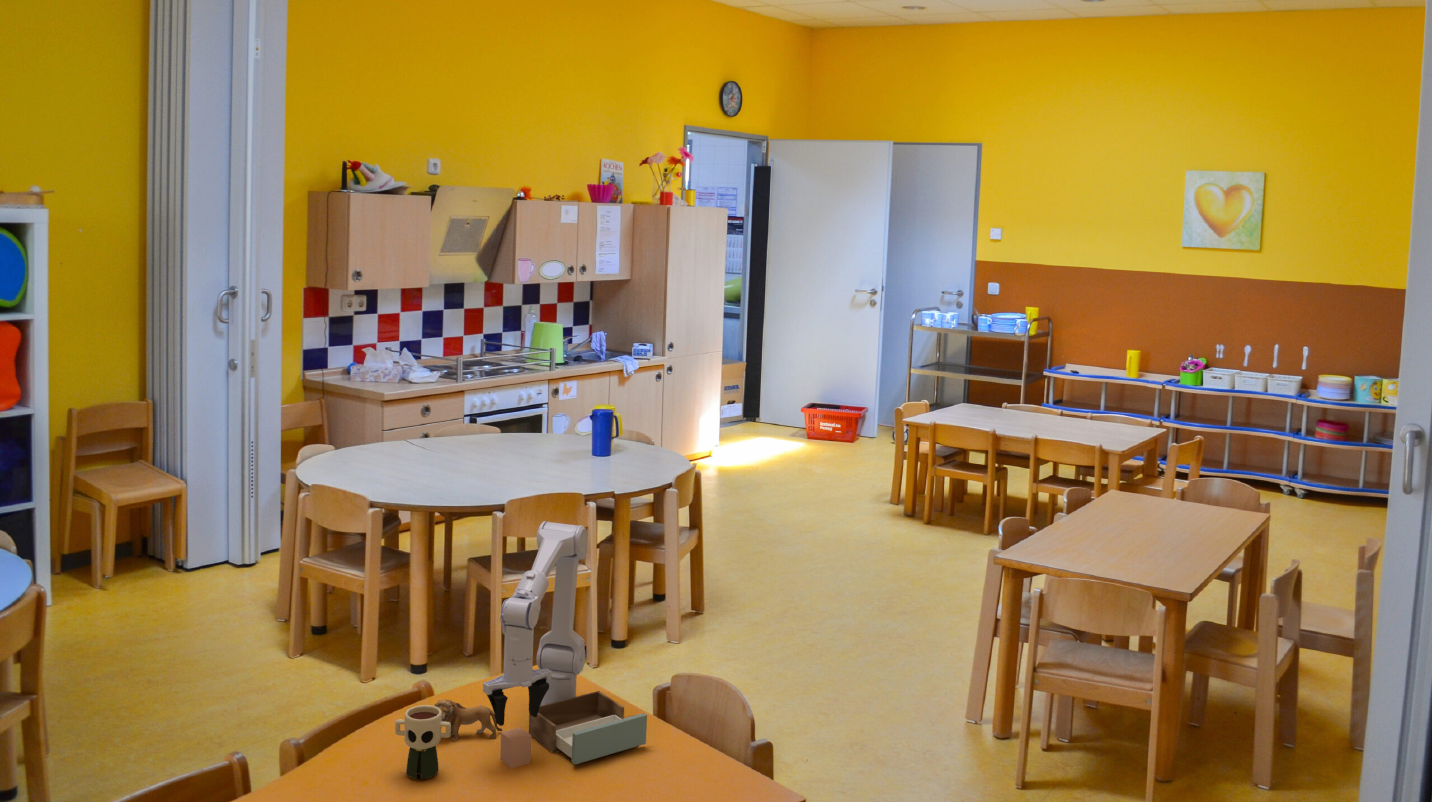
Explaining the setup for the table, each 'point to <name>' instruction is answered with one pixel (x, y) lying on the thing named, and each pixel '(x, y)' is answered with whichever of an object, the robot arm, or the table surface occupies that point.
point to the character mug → (422, 739)
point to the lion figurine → (466, 717)
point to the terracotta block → (515, 747)
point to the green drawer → (601, 737)
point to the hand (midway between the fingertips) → (516, 719)
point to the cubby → (570, 716)
